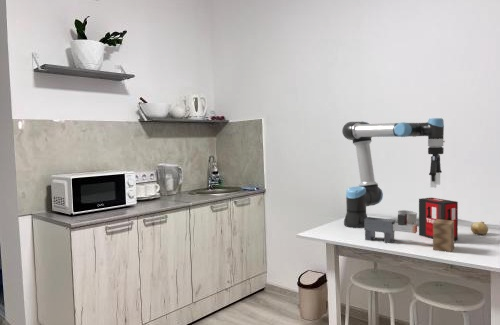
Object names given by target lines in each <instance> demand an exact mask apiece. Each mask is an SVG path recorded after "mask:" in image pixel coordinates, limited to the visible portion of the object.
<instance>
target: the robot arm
mask: <svg viewBox="0 0 500 325" xmlns="http://www.w3.org/2000/svg"><path fill="white" fill-rule="evenodd" d="M427 120H428V121H427V122H395V123H394V122H393V123H392V122H389V123H369V122H367V121H349V122H346V123H345V124H344V125H343V127H342V131H341V132H342V135H343V137H344V138H345V139H347V140H349V141H352V144H353V145H354V146H355V150H356V158H357V164H358V173H359V179H360V184H358V186H351V187H348V188H347V189H346V194H345V196H346V198H345V200H346V202H345V203H346V204H345V205H346V214H345V217H344V220H343V225H344V226H345V227H347V228H356V229H357V228H359V229H360V228H362V229H363V228H364V219H365V218H367V217H368V214H367V207H371V206H375V205H378V204H379V203H380V202H382V200H383V197H384V196H383V195H384V193H383V190H382V189H381V188H380V187H379V184H378V182H376V181H375V175H374V167H373V160H372V153H371V152H372V150H371V146H370V144H371V142H372V138H375V137H377V138H381V137H383V138H384V137H385V138H386V137H390V138H391V137H392V138H394V137H398V138H399V137H401V138H407V137H413V138H414V137H415V138H416V137H427V146H428V148H427V154H428V155H432V156H430V169H429V170H430V171H429V173H428V175H429V176H430V184H429V185H430V188H435V189H436V188H437V185H441V173H442V169H441V155H443V154H444V151H445V150H444V147H443V146H444V143H445V142H446V141H445V140H444V138H445V137H444V130H445V128H444V127H445V124H444V122H445V121H444V119H443V118H442V117H441V118H440V117H436V118H435V117H434V118H433V117H432V118H429V119H427Z"/></svg>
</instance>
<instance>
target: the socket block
mask: <svg viewBox="0 0 500 325" xmlns="http://www.w3.org/2000/svg"><path fill="white" fill-rule="evenodd" d="M454 249H455V241H454V221H451V220H441V219H437V220H435V221H434V222H433V239H432V251H438V250H439V252H445V251H446V253H452V252H453V250H454Z"/></svg>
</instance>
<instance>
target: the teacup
mask: <svg viewBox="0 0 500 325" xmlns="http://www.w3.org/2000/svg"><path fill="white" fill-rule="evenodd" d="M400 213H403V214H407V224H412V225H416V222H417V215H418V213H417V212H416V211H414V210H404V209H403V210H398V211H397V217H396V218H397V219H398V215H399V214H400Z"/></svg>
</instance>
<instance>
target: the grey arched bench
mask: <svg viewBox="0 0 500 325" xmlns="http://www.w3.org/2000/svg"><path fill="white" fill-rule="evenodd" d="M392 223H396V219H393V218H391V219H390V218H382V217H371V216H367V218H365V219H364V227H363V228H364V241H370V242H371V241H373V240H374V239H376V232H377V233H383V238H384V240H383V242H384V244H385V243H386V244H391V243H393V242H394V241H395V232H396V231H392Z"/></svg>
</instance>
